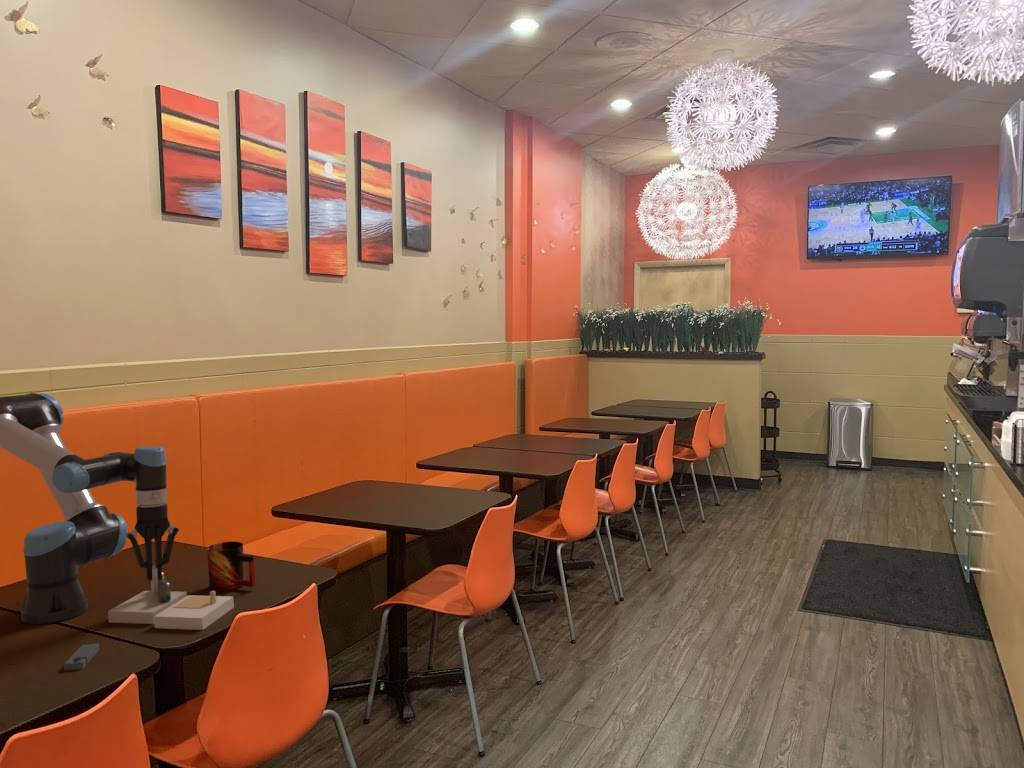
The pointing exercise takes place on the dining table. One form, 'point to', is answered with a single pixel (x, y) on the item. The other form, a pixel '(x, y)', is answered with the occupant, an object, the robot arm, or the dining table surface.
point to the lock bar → (164, 589)
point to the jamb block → (142, 608)
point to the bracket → (81, 657)
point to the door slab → (194, 612)
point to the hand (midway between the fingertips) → (154, 591)
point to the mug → (228, 567)
